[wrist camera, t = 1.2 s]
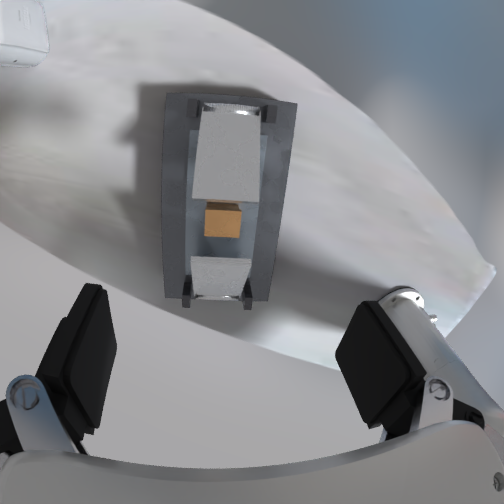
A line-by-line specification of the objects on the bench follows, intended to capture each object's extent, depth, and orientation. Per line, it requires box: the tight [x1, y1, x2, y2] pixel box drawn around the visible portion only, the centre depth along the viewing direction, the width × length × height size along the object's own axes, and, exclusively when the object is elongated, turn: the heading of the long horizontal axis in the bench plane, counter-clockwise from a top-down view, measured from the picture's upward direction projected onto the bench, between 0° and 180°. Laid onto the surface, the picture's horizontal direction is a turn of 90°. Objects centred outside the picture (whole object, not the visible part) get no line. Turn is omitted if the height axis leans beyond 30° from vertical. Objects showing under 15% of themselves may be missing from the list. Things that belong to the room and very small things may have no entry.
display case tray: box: [161, 93, 297, 310], centre depth 27 cm, size 12×22×8 cm, turn 174°
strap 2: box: [191, 256, 251, 301], centre depth 27 cm, size 9×5×1 cm
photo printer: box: [0, 0, 49, 68], centre depth 11 cm, size 10×4×12 cm, turn 16°
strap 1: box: [192, 102, 261, 205], centre depth 21 cm, size 9×5×1 cm
